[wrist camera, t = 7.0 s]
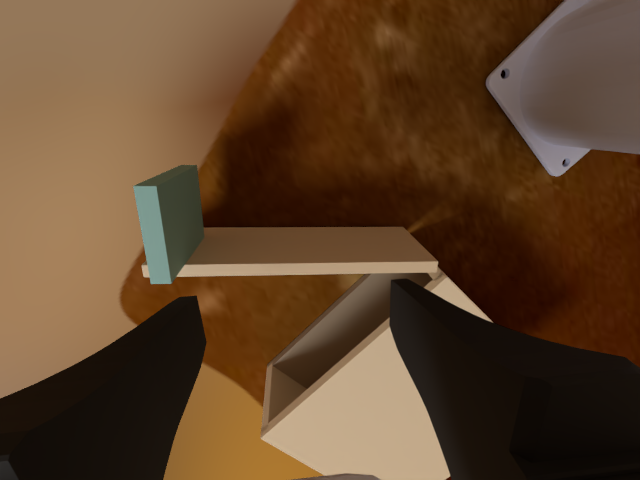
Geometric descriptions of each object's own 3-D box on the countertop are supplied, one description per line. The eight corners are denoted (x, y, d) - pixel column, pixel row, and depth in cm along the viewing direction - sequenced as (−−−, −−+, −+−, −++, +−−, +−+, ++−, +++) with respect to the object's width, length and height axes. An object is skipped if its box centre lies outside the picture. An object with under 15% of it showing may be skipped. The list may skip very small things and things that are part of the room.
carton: (406, 235, 22) (447, 276, 16) (504, 333, 25) (565, 394, 20) (267, 364, 24) (260, 438, 19) (373, 436, 28) (394, 515, 22)
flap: (410, 163, 20) (472, 188, 13) (401, 235, 21) (453, 290, 15) (170, 160, 18) (101, 185, 12) (180, 236, 20) (125, 297, 13)
